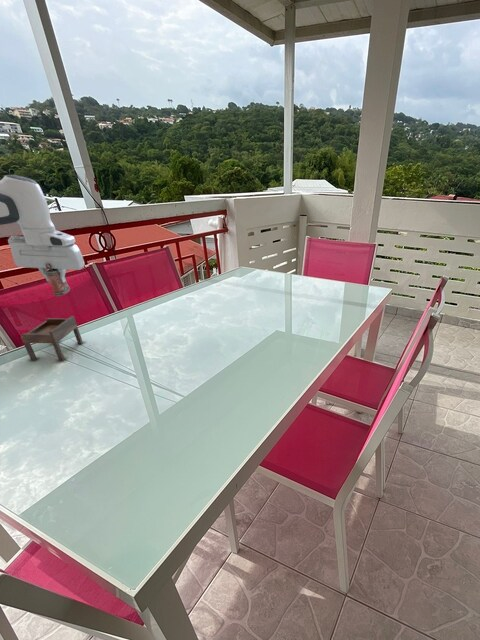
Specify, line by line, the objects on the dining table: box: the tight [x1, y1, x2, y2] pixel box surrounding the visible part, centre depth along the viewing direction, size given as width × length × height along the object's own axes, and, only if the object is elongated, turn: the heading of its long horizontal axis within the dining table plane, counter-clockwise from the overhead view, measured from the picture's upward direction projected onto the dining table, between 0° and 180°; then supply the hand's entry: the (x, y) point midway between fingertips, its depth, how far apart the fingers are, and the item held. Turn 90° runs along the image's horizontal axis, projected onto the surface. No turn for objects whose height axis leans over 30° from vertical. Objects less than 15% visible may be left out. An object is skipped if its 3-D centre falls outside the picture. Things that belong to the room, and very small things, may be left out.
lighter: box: [45, 264, 71, 297], centre depth 111 cm, size 8×3×10 cm, turn 8°
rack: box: [20, 315, 84, 362], centre depth 112 cm, size 10×14×10 cm
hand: (56, 281), depth 112 cm, fingers closed on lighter, 2 cm apart
